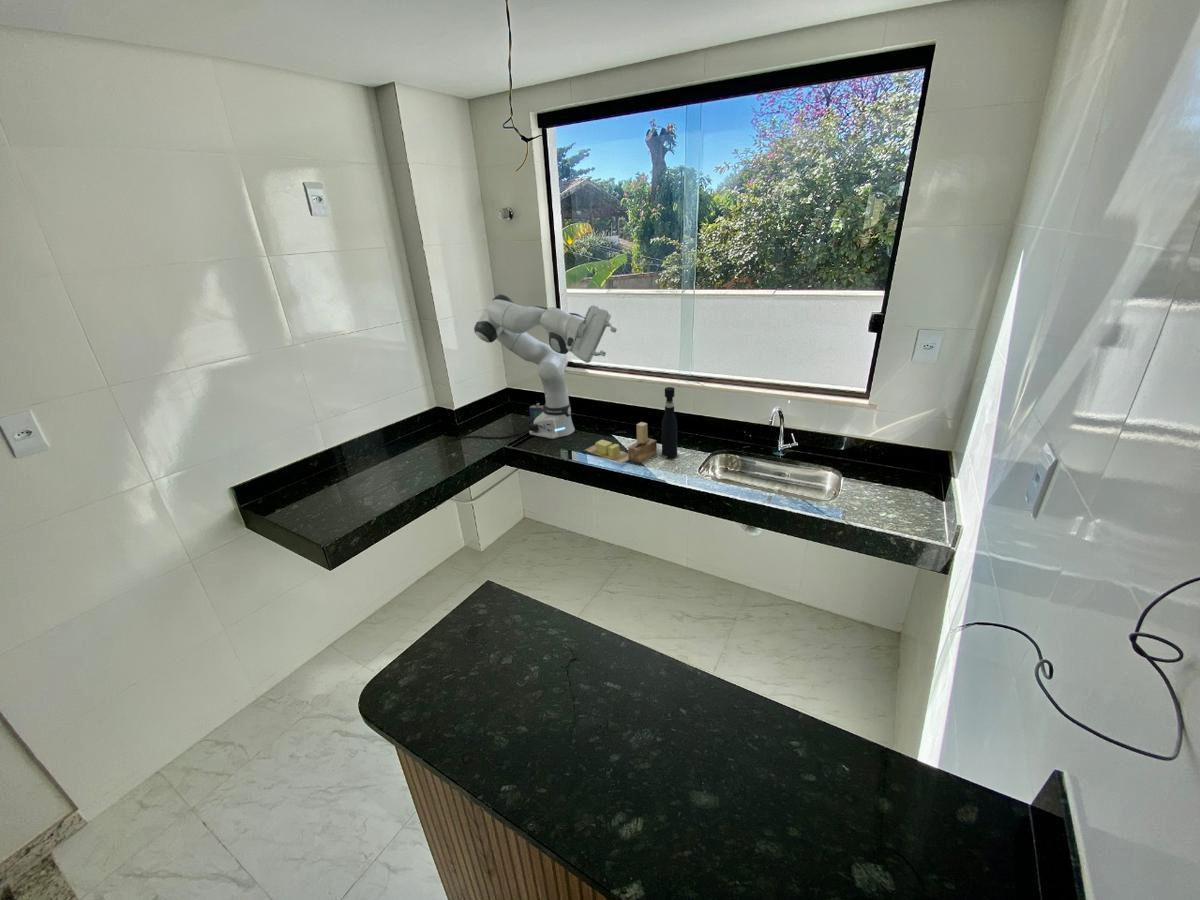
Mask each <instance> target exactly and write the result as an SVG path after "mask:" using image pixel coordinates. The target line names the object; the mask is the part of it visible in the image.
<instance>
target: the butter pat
mask: <svg viewBox="0 0 1200 900" xmlns="http://www.w3.org/2000/svg"><path fill="white" fill-rule="evenodd" d="M608 451H609V456H612V457H614V456H616V455H617V454H619V453H620V451H621V449H620V444H618V443H614V444H613V443H612V445H611V446H610V447H608Z"/></svg>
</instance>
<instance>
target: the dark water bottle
mask: <svg viewBox="0 0 1200 900" xmlns="http://www.w3.org/2000/svg"><path fill="white" fill-rule="evenodd" d="M664 397H665V398H666V399H665V404H664V405H665V406H664V414H663V417H662V421H661V455H662V456H664V457H665V458H666V459H667V460H671V459H675V458H677V457H678V421H677V417H676V414H675V405H674V403H675V402H674V399H673V398H674V397H675V387H671V386H667V387H665V388H664Z"/></svg>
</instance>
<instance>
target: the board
mask: <svg viewBox="0 0 1200 900" xmlns="http://www.w3.org/2000/svg"><path fill="white" fill-rule="evenodd" d="M584 451H585V452H588V453H591V454H594V455H597V456H599V457H601V458H605V459H608V460H611V461H614V462H617V463H620V464H624V463H625V462H628V461H630V460H629V459H628V452H626V451H623V450H620V453H619V454H617V455H616V456H614V457H612V456H609V453H608V454H603V453H600V452H597V451H596V447H595V444H593V445H591V446H589V447H587V448H585V449H584Z"/></svg>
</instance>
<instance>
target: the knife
mask: <svg viewBox="0 0 1200 900" xmlns="http://www.w3.org/2000/svg"><path fill="white" fill-rule="evenodd" d="M648 432H649V429H648V423H647V422H643V421H640V422H638V423H636V442H639V443H638V444H637V445H636V448H637V447H639V446H641V445H643V444H644V443H646V442H648V441H649V438H650V437H648V436H649V433H648Z"/></svg>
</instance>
